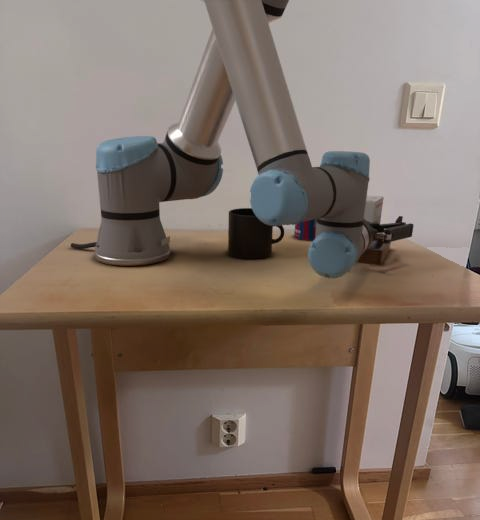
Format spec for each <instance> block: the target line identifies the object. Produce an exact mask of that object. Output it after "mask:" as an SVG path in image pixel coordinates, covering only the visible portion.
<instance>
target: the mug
mask: <svg viewBox="0 0 480 520" xmlns="http://www.w3.org/2000/svg"><path fill="white" fill-rule="evenodd" d="M283 226H284V225H280V226H270V225H267V224H264V223H263V222H261V221H260V220H259V219H258V218H257V217H256V215H255V214H254V212H253V210H252V207H243V208H242V207H240V208H233V209H230V210H229V211H228V226H227V227H228V232H227V233H228V234H227V235H228V236H227V241H228V242H227V252H228V254H229V255H230V256H232V257H234V258H238V259H243V260H244V259H245V260H257V259H258V260H259V259H265V258H268V257H270V256H271V255H272V253H273V245H274V244H278V243H280V242H281V241H282V240H283V238H284V237H285V228H284V227H283ZM275 227H276V228H278V230H279V231H280V233H279V236H278V237H277V238H273V229H274V228H275Z"/></svg>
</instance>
